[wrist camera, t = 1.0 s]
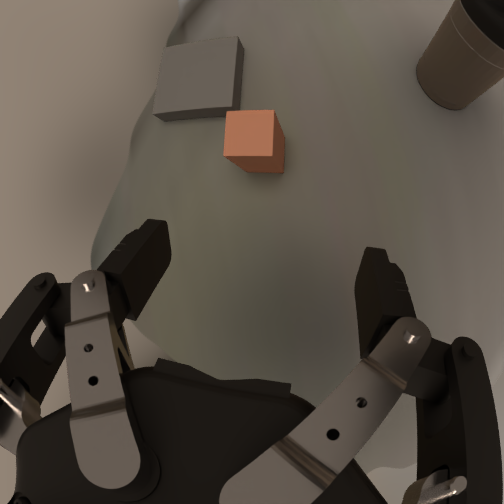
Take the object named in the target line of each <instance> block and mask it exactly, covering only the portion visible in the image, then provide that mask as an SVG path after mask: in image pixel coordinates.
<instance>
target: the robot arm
mask: <svg viewBox="0 0 504 504" xmlns="http://www.w3.org/2000/svg"><path fill="white" fill-rule="evenodd" d="M416 71H417V77H418V80H419V83H420V85H421V87H422V88H423V90H424V91H425V92H426V94H427V95H428V96H429V97H430V98H431V99H432V100H433V101H435V102H436V103H437V104H439V105H441V106H443V107H445V108H448V109H453V110H459V109H462V108H464V107H466V106H467V105H468V104H470V103H471V102H472V101H474V100H475V99H476V98H478V97H479V96H480V95H482V94H483V93H484V92H486V91H487V90H488V89H489V88H491V87H492V86H493V85H495V84H496V83H497V82H498V81H500V80H501V79H502V78H504V0H455V1H454V3H453V5H452V7H451V8H450V10H449V12H448V14H447V15H446V17H445V19H444V20H443V22H442V24H441V26H440V27H439V29H438V31H437V32H436V34H435V36H434V37H433V39H432V41H431V42H430V44H429V46H428V47H427V49H426V50H425V52H424V54H423V55H422V57H421V58H420V60H419V62H418V64H417V70H416ZM170 261H171V246H170V239H169V232H168V225H167V222H166V221H164V220H155V219H147V220H146V221H145V222H144V224H143V225H142V226H141V227H140V228H139V229H136V230H134V231H132V232H131V233H129V234H127V235H126V236H125V237H124V238H123V239H122V241H121V242H120V244H118V245H117V246H116V247H115V250H113V251H112V252H111V253H110V254H109V256H108V257H107V258H106V259H105V260H104V262H103V263H102V264H101V265H100V266H99V268H98V269H97V270H88V271H85V272H82V273H81V274H79V275H78V276H77V277H75V278H74V280H73V281H72V283H57V281H56V279H55V277H54V275H53V274H52V273H48V272H47V273H41V274H39V275H36V276H35V277H33V278H32V279H31V280H30V281H29V282H28V284H27V285H26V286H25V287H24V289H23V290H22V292H21V293H20V294H19V295H18V296H17V298H16V299H15V300H14V302H13V303H12V304H11V305H10V307H9V308H8V309H7V311H6V312H5V314H4V315H3V316H2V318H1V319H0V445H1V446H2V447H4V448H5V449H7V450H9V451H10V452H11V453H13V454H14V455H16V467H17V472H16V474H17V475H16V487H15V492H14V495H13V497H12V498H11V500H10V501H9V503H8V504H388V503H387V502H386V501H385V499H384V498H383V497H382V495H381V494H380V493H379V491H378V490H377V489H376V487H375V486H374V485H373V483H372V482H371V481H370V479H369V478H368V477H367V475H366V474H365V473H364V471H363V470H362V469H361V467H360V466H359V465H358V463H357V462H356V461H355V459H354V456H355V455H356V454H357V453H358V452H359V450H360V449H361V448H362V447H363V446H364V444H365V443H366V442H367V441H368V440H369V438H370V437H371V436H372V435H373V433H374V432H375V431H376V429H377V428H378V427H379V425H380V424H381V423H382V421H383V420H384V419H385V417H386V416H387V415H388V413H389V412H390V410H391V409H392V408H393V406H394V405H395V403H396V402H397V400H398V399H399V397H400V396H401V394H402V393H406V394H409V395H412V396H415V397H416V411H417V481H415V482H414V483H413V484H411V485H410V486H409V487H408V489H407V490H406V492H405V494H404V497H403V501H402V504H502V500H503V497H502V495H503V489H502V488H503V483H502V482H503V481H502V460H501V447H500V438H499V430H498V422H497V416H496V410H495V404H494V399H493V394H492V389H491V384H490V380H489V376H488V371H487V367H486V364H485V360H484V356H483V353H482V350H481V348H480V347H479V345H478V344H477V343H476V342H475V341H473V340H472V339H470V338H468V337H458V338H456V339H455V340H454V341H453V343H452V344H451V345H450V344H447V343H444V342H441V341H439V340H436V339H434V338H432V337H431V333H430V331H429V329H428V327H427V326H426V325H425V324H424V323H423V322H421V321H420V320H418V319H417V318H416V314H415V310H414V307H413V303H412V300H411V296H410V293H409V292H408V287H407V284H406V280H405V277H404V274H403V272H402V271H401V269H400V268H399V267H398V266H397V265H396V264H395V263H390V262H389V259H388V256H387V253H386V250H385V249H380V248H373V247H366V249H365V251H364V254H363V257H362V261H361V264H360V267H359V270H358V274H357V277H356V281H355V301H356V310H357V320H358V331H359V344H360V359H362V360H361V361H360V362H359V364H358V365H357V366H356V367H355V368H354V369H353V370H352V371H351V373H350V374H349V375H348V376H347V377H346V378H345V379H344V380H343V381H342V382H341V383H340V384H339V386H338V387H337V388H336V389H335V390H334V391H333V392H332V393H331V394H330V395H329V396H328V397H327V398H326V399H325V400H324V401H323V402H322V403H321V404H320V405H319V406H318V407H317V408H315V407H314V406H313V405H312V404H311V403H309V402H308V401H306V400H305V399H303V398H301V397H299V396H297V395H294V394H292V393H290V390H291V384H290V383H282V382H275V381H268V380H261V379H244V380H218V379H216V378H214V377H211V376H209V375H207V374H205V373H203V372H201V371H199V370H197V369H195V368H193V367H191V366H189V365H185V364H181V363H177V362H173V361H169V360H165V359H161V358H158V360H157V362H156V364H155V366H154V367H142V368H137V369H135V368H134V364H133V361H132V358H131V354H130V350H129V346H128V342H127V338H126V334H125V329H124V326H123V322H124V320H125V318H127V319H130V320H134V321H136V320H137V318H138V317H139V315H140V313H141V311H142V310H143V308H144V306H145V305H146V303H147V301H148V299H149V298H150V296H151V294H152V293H153V291H154V289H155V288H156V286H157V284H158V283H159V281H160V279H161V278H162V276H163V274H164V273H165V271H166V270H167V268H168V266H169V264H170ZM41 320H43V322H44V324H45V325H46V328H45V330H44V331H43V332H42V334H41V336H40V337H39V339H38V340H37V342H36V344H35V345H34V347H32V345H31V335H32V333H33V332H34V330H35V329H36V327H37V326H38V324H39V322H40V321H41ZM65 356H66V362H67V373H68V383H69V391H70V398H71V403H70V404H68V405H66V406H64V407H62V408H61V409H59V410H57V411H55V412H53V413H51V414H49V415H47V416H45V417H44V418H42V417H41V416H40V414H41V408H40V405H41V403H42V401H43V399H44V397H45V395H46V393H47V391H48V389H49V387H50V385H51V383H52V381H53V379H54V377H55V375H56V373H57V371H58V369H59V367H60V366H61V364H62V362H63V360H64V358H65Z"/></svg>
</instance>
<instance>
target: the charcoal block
mask: <svg viewBox="0 0 504 504" xmlns="http://www.w3.org/2000/svg"><path fill="white" fill-rule="evenodd" d="M243 59H244V48H243V46H242V44H241V41H240V39H239V37H238V36H237V37H227V38H218V39H211V40H204V41H197V42H191V43H186V44H180V45H175V46H170V47H166V48H164V49H163V54H162V59H161V64H160V70H159V75H158V81H157V87H156V93H155V99H154V106H153V113H152V114H153V115H155V116H156V117H158V118H160V119H161V120H163V121H174V120H184V119H195V118H208V117H225V116H226V114H227V111H240V97H241V84H242V71H243Z"/></svg>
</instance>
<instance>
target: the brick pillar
mask: <svg viewBox="0 0 504 504" xmlns="http://www.w3.org/2000/svg"><path fill="white" fill-rule="evenodd" d="M284 149H285V137H284V134H283V131H282V129H281V126H280V124H279V121H278V119H277V116H276V113H275V111H274V110H245V111H227V114H226V127H225V141H224V157H226V158H227V159H229V160H230V161H232V162H233V163H235V164H236V165H237V166H239V167H240V168H242V169H243V170H245V171H246V172H263V173H284Z"/></svg>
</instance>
